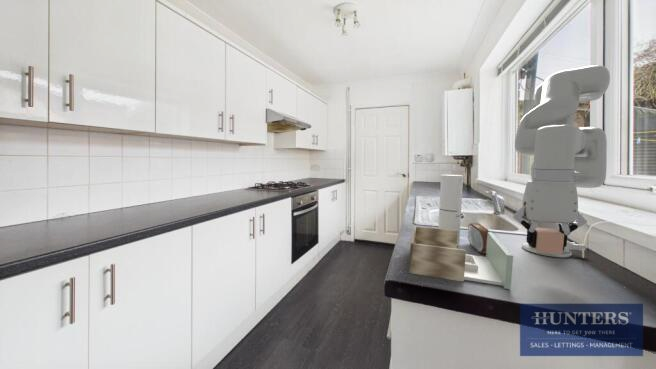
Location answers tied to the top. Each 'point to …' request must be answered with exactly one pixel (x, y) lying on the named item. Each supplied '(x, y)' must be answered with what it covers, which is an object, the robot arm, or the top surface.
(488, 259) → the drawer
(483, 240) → the tin
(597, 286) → the top surface
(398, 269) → the top surface
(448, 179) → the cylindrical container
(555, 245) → the block
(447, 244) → the caddy
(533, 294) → the top surface
